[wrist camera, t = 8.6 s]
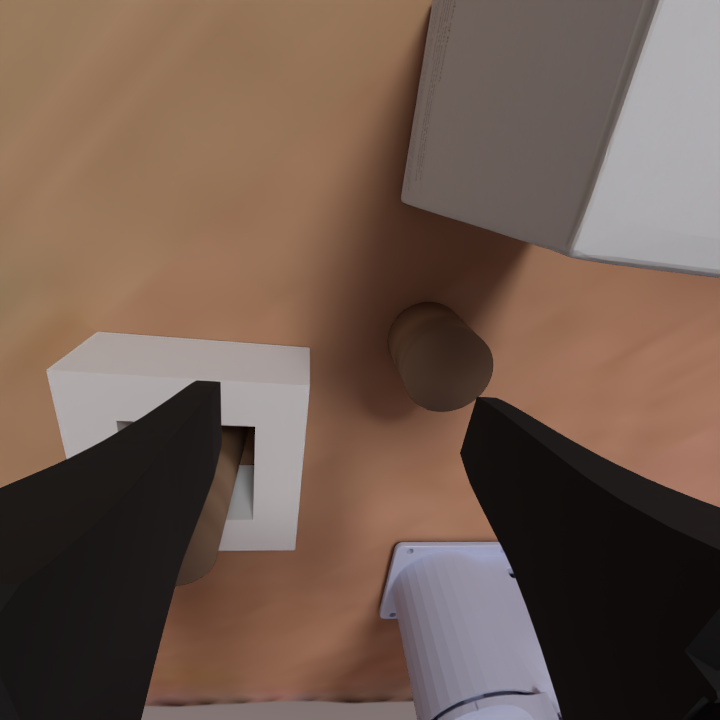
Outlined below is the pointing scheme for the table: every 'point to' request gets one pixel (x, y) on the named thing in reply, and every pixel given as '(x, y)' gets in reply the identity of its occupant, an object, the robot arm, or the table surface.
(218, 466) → the brown rounded cylinder
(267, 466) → the hole block
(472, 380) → the short pin
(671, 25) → the supplement box
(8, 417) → the table surface
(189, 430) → the robot arm
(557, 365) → the table surface
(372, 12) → the table surface
